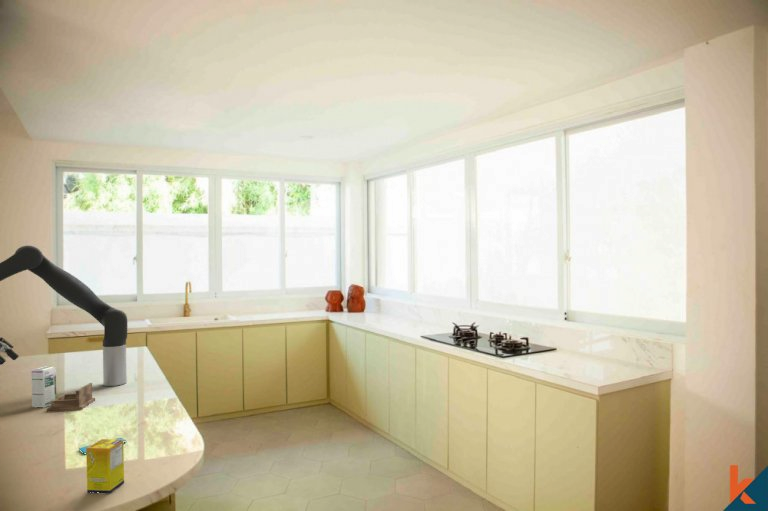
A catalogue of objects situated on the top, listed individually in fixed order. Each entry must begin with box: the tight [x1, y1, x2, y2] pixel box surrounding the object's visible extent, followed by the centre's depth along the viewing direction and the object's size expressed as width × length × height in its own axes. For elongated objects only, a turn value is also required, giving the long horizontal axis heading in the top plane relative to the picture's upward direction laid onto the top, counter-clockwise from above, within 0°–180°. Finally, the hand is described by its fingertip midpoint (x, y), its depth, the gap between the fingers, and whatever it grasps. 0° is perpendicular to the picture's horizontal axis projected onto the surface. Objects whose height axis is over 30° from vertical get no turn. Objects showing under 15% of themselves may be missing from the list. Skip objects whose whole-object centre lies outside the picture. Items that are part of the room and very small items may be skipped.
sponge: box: [78, 437, 127, 453], centre depth 151 cm, size 2×12×6 cm
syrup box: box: [30, 365, 58, 409], centre depth 195 cm, size 6×6×14 cm
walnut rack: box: [46, 382, 96, 413], centre depth 194 cm, size 12×12×7 cm
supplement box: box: [86, 438, 125, 494], centre depth 124 cm, size 6×6×11 cm
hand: (10, 360), depth 193 cm, fingers open, 8 cm apart
